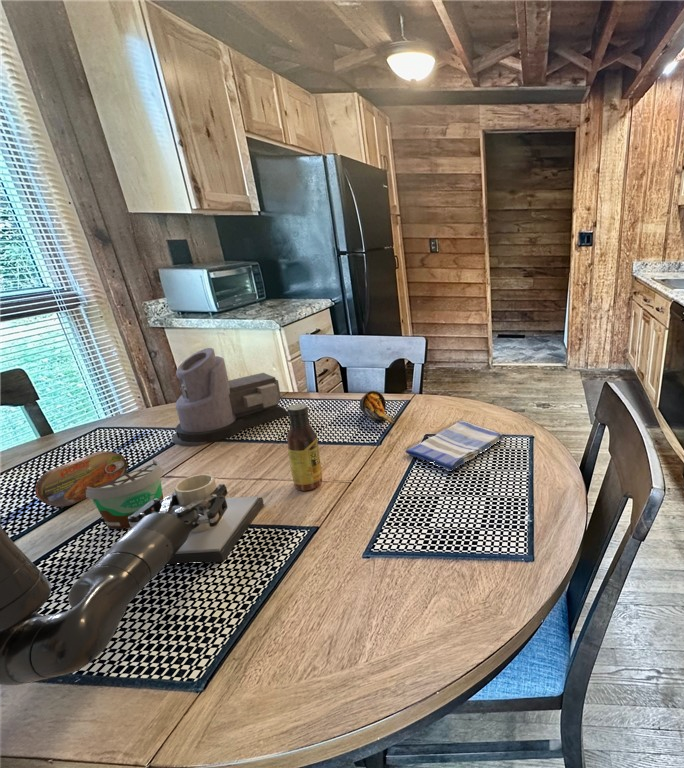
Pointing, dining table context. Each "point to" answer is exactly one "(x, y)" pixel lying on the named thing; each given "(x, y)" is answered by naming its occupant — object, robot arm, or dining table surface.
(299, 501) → the dining table surface
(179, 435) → the juicer
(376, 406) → the fried shrimp in bowl
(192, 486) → the cup
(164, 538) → the robot arm
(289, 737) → the dining table surface
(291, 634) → the dining table surface
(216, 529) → the kitchen scale
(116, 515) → the food container
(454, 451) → the dish towel
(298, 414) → the sauce bottle
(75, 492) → the tin
